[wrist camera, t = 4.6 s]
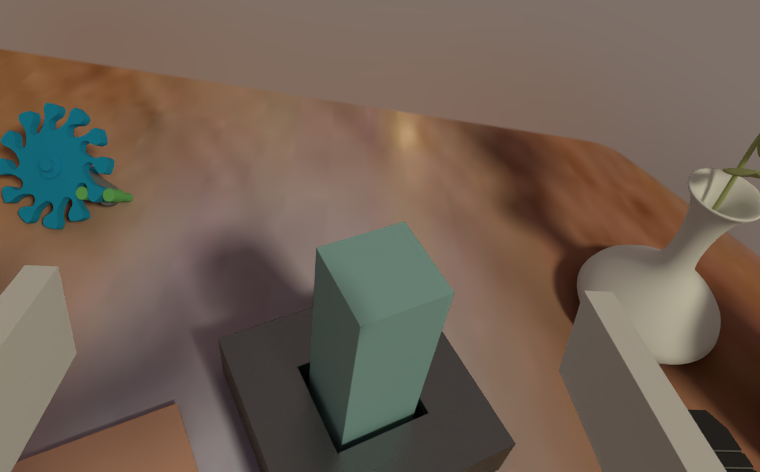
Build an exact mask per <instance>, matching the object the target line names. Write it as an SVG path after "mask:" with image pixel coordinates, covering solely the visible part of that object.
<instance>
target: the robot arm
mask: <svg viewBox="0 0 760 472" xmlns="http://www.w3.org/2000/svg"><path fill="white" fill-rule="evenodd" d="M76 354H77V353H76V348H75V344H74V339H73V334H72V330H71V325H70V320H69V315H68V311H67V306H66V301H65V297H64V292H63V287H62V282H61V278H60V273H59V268H58V267H54V266H32V265H25V266H24V267H23V268H22V269H21V271H20V272H19V273H18V274H17V276H16V277H15V278H14V279H13V280H12V282H11V283H10V284H9V285H8V287H7V288H6V289H5V290H4V292H3V293H2V294H1V295H0V472H11V471H12V469H13V468H14V466H15V464H16V462H17V460H18V458H19V457H20V455H21V453H22V451H23V449H24V448H25V446H26V444H27V442H28V440H29V439H30V437H31V435H32V433H33V431H34V430H35V428H36V426H37V424H38V422H39V421H40V419H41V417H42V415H43V413H44V412H45V410H46V408H47V406H48V404H49V403H50V401H51V399H52V397H53V395H54V394H55V392H56V390H57V388H58V386H59V385H60V383H61V381H62V379H63V377H64V376H65V374H66V372H67V370H68V368H69V367H70V365H71V363H72V361H73V359H74V358H75V356H76ZM559 371H560V374H561V376H562V378H563V381H564V383H565V385H566V387H567V390H568V392H569V394H570V397H571V399H572V401H573V404H574V406H575V408H576V411H577V413H578V415H579V418H580V420H581V422H582V425H583V427H584V429H585V432H586V434H587V436H588V439H589V441H590V443H591V446H592V448H593V450H594V453H595V455H596V457H597V460H598V462H599V464H600V467H601V469H602V471H603V472H757V471H754V470H753V466H752V464H751V463H750V461H749V460H748V458H747V457H746V455H745V454H742V452H741V448H740V447H739V445H738V444H737V442H736V441H735V439H734V438H733V436H732V435H731V434H730V432H729V431H728V429H727V428H726V427H725V426H723V425H722V424H721V423H720V422H719V421H718V420H717V419H715V418H714V417H713V416H712V415H711V414H710V413H708V412H707V411H706V410H687V408H686V407H685V405H684V404H683V402H682V400H681V399H680V397H679V396H678V394H677V393H676V391H675V389H674V388H673V386H672V385H671V383H670V382H669V380H668V378H667V377H666V375H665V374H664V372H663V371H662V369H661V367H660V366H659V364H658V363H657V361H656V360H655V358H654V356H653V355H652V353H651V352H650V350H649V349H648V347H647V345H646V344H645V342H644V341H643V339H642V338H641V336H640V334H639V333H638V331H637V330H636V328H635V327H634V325H633V323H632V322H631V320H630V319H629V317H628V316H627V314H626V312H625V311H624V309H623V308H622V306H621V305H620V303H619V301H618V300H617V298H616V297H615V295H614V293H613V292H603V291H584V293H583V296H582V299H581V302H580V305H579V308H578V312H577V315H576V318H575V321H574V324H573V327H572V330H571V334H570V337H569V340H568V343H567V346H566V349H565V352H564V356H563V359H562V362H561V365H560V368H559Z"/></svg>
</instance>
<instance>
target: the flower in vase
mask: <svg viewBox="0 0 760 472" xmlns="http://www.w3.org/2000/svg"><path fill="white" fill-rule="evenodd" d="M757 145H758V146H757ZM756 147H757V149H758V155H759V157H760V134H759V135H758V136H757V138H756V139H755V140H754V142H753V143H752V145H751V146H750V148H749V149H748V151H747V152H746V154H745V155H744V157H743V159H742V160H741V162H740V164H739V165H738V167H737V168H728V169H723V170H721V169H715V168H703V169H698V170H696V171H694V172H693V173H692V174H691V175H690V176H689V179H688V188H689V191H690V198H691V199H690V206H689V209H688V212H687V215H686V217H685V219H684V221H683V223H682V225H681V227H680V229H679V231H678V232H677V234H676V235H675V237H674V238H673V240H672V241H671V242H670V243H669V245H668V246H667V247H665V248H664V249H663V250H660V249H656V248H653V247H648V246H642V245H618V246H612V247H608V248H606V249H603V250H601V251H600V252H598V253H596V254H595V255H593V256H591V257H590V258H589V259H588V260H587V261H586V262H585V263H584V264H583V265H582V267H581V269H580V271H579V274H578V277H577V292H578V297H579V300H580V302H581V299H582V296H583V293H584V291H603V292H613V293H614V295H615V297H616V298H617V300H618V301H619V303H620V305H621V306H622V308H623V309H624V311H625V312H626V314H627V316H628V317H629V319H630V320H631V322H632V323H633V325H634V327H635V328H636V330H637V331H638V333H639V334H640V336H641V338H642V339H643V341H644V342H645V344H646V345H647V347H648V349H649V350H650V352H651V353H652V355H653V356H654V358H655V360H656V361H657V363H658V364H671V365H675V364H686V363H691V362H694V361H697V360H699V359H701V358H703V357H705V356H706V355H707V354H708V353H710V351H711V350H712V349H713V348H714V346H715V344H716V342H717V340H718V336H719V332H720V326H721V317H720V311H719V307H718V305H717V302H716V300H715V298H714V296H713V294H712V292H711V290H710V288H709V286H708V285H707V284H706V282H705V281H704V279H703V278H702V277H701V276H700V275H699V274H698V273H697V272H696V271H695V267H696V264H697V262H698V261H699V259H700V258H701V256H702V255H703V253H704V252H705V251H706V250H707V249H708V248H709V246H710V245H711V244H712V243H713V242H714V241H715V240H716V239H717V238H719V237H720V236H721V235H722V234H723V233H725V232H726V231H727V230H729V229H730V228H732V227H734V226H736V225H738V224H741V223H746V222H751V221H755V220H757V219H759V218H760V192H759V191H758V190H757V189H756V188H755V187H754V186H753V185H752V184H750V183H749V182H748V181H746V180H745V179H743V178H741V177H754V178H760V172H759V171H754V170H750V169H744V168H743V167H744V166H745V164H746V162H747V161H748V159H749V157H750V156H751V154H752V153H753V151H754V150H755V148H756ZM739 176H740V177H739Z"/></svg>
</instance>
